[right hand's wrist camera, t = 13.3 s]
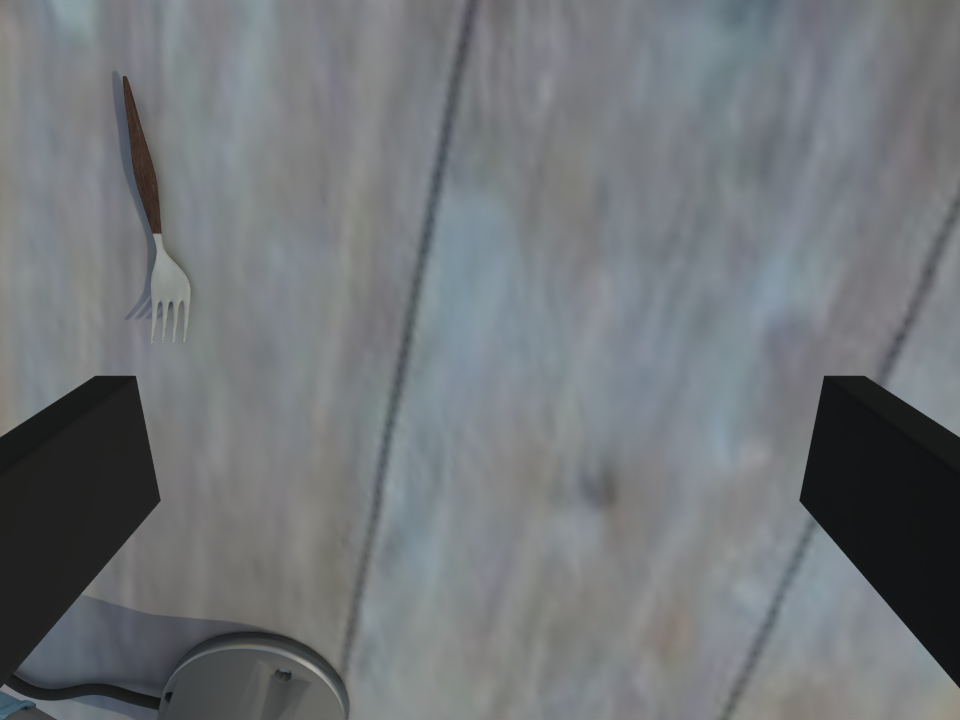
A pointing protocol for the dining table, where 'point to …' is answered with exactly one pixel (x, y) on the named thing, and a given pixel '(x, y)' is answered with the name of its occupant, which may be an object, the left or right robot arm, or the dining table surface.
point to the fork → (155, 228)
